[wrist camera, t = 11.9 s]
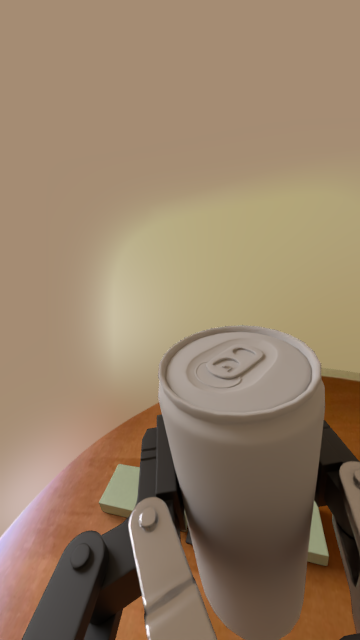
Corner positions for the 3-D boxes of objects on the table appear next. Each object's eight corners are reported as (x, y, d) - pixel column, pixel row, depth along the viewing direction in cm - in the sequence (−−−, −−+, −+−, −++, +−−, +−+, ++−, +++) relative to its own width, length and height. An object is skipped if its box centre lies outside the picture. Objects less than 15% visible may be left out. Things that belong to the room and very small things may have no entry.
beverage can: (180, 564, 12) (123, 366, 8) (239, 493, 15) (224, 314, 10) (266, 696, 8) (255, 468, 4) (324, 571, 11) (358, 347, 7)
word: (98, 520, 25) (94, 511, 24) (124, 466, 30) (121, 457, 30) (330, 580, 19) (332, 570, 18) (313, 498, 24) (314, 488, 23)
